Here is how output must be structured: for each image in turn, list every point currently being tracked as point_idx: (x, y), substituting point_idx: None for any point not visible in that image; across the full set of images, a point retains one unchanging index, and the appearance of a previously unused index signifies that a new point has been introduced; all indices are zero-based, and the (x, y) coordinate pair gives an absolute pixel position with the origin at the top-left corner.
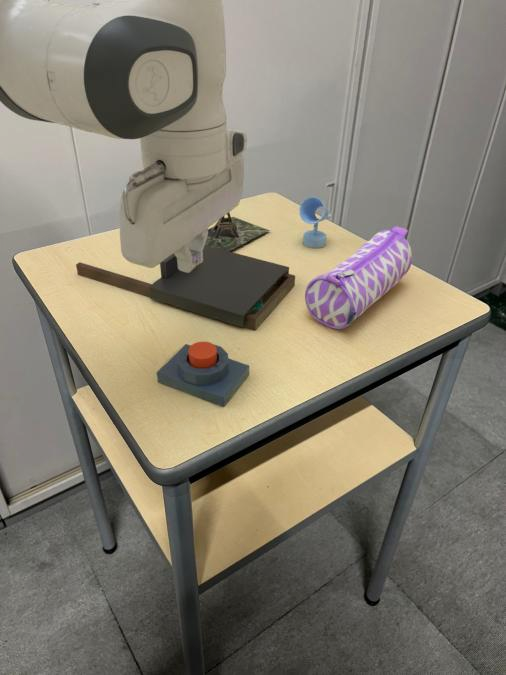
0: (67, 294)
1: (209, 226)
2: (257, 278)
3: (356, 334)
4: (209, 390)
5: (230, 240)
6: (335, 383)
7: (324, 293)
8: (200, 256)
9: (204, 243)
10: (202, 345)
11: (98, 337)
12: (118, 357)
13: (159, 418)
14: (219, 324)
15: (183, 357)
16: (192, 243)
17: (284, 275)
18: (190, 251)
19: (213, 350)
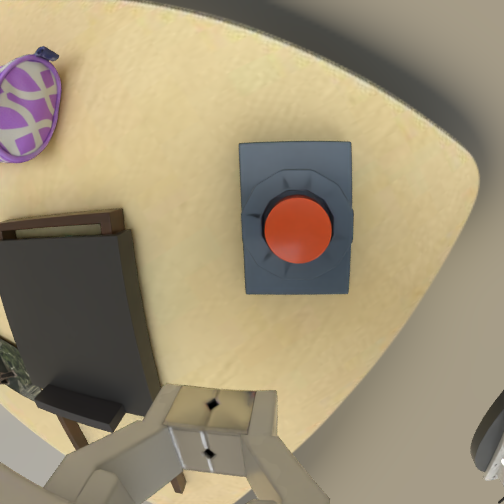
0: (227, 477)
1: (44, 493)
2: (28, 273)
3: (60, 63)
4: (348, 175)
5: (3, 355)
6: (184, 16)
7: (14, 114)
8: (172, 408)
9: (115, 437)
10: (283, 240)
11: (287, 416)
12: (316, 371)
13: (416, 230)
14: (144, 276)
15: (316, 264)
16: (155, 474)
17: (2, 239)
18: (192, 456)
19: (287, 207)
